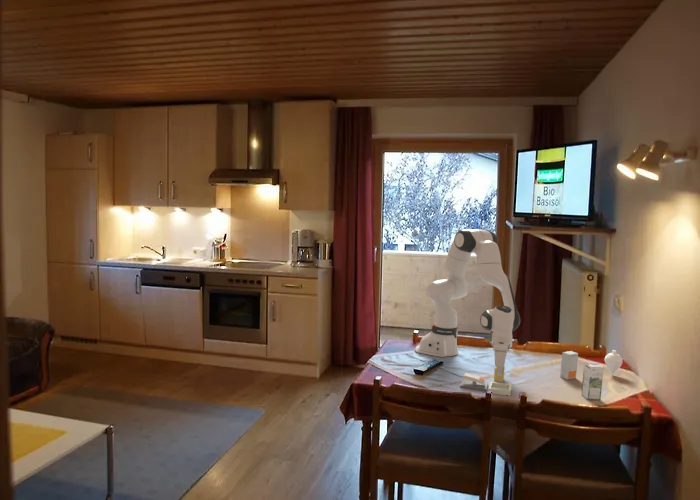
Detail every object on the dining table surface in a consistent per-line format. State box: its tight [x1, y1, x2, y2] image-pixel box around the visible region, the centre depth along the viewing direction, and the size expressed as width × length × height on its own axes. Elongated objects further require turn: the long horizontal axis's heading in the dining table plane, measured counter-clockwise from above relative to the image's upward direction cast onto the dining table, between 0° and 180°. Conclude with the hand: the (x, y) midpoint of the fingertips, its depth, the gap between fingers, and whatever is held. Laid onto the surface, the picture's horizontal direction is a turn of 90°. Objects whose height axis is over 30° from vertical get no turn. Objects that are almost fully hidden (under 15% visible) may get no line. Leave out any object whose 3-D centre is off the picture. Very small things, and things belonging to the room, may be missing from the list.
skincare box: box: [559, 350, 579, 380], centre depth 254 cm, size 6×4×12 cm
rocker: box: [462, 372, 487, 384], centre depth 239 cm, size 9×4×2 cm, turn 71°
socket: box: [487, 381, 513, 397], centre depth 235 cm, size 9×9×2 cm
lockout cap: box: [493, 366, 505, 383], centre depth 248 cm, size 4×4×6 cm
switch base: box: [459, 379, 489, 392], centre depth 239 cm, size 11×8×2 cm
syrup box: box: [581, 362, 605, 401], centre depth 230 cm, size 6×6×14 cm
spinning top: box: [604, 349, 624, 376], centre depth 260 cm, size 8×8×12 cm
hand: (500, 372), depth 248 cm, fingers open, 8 cm apart
